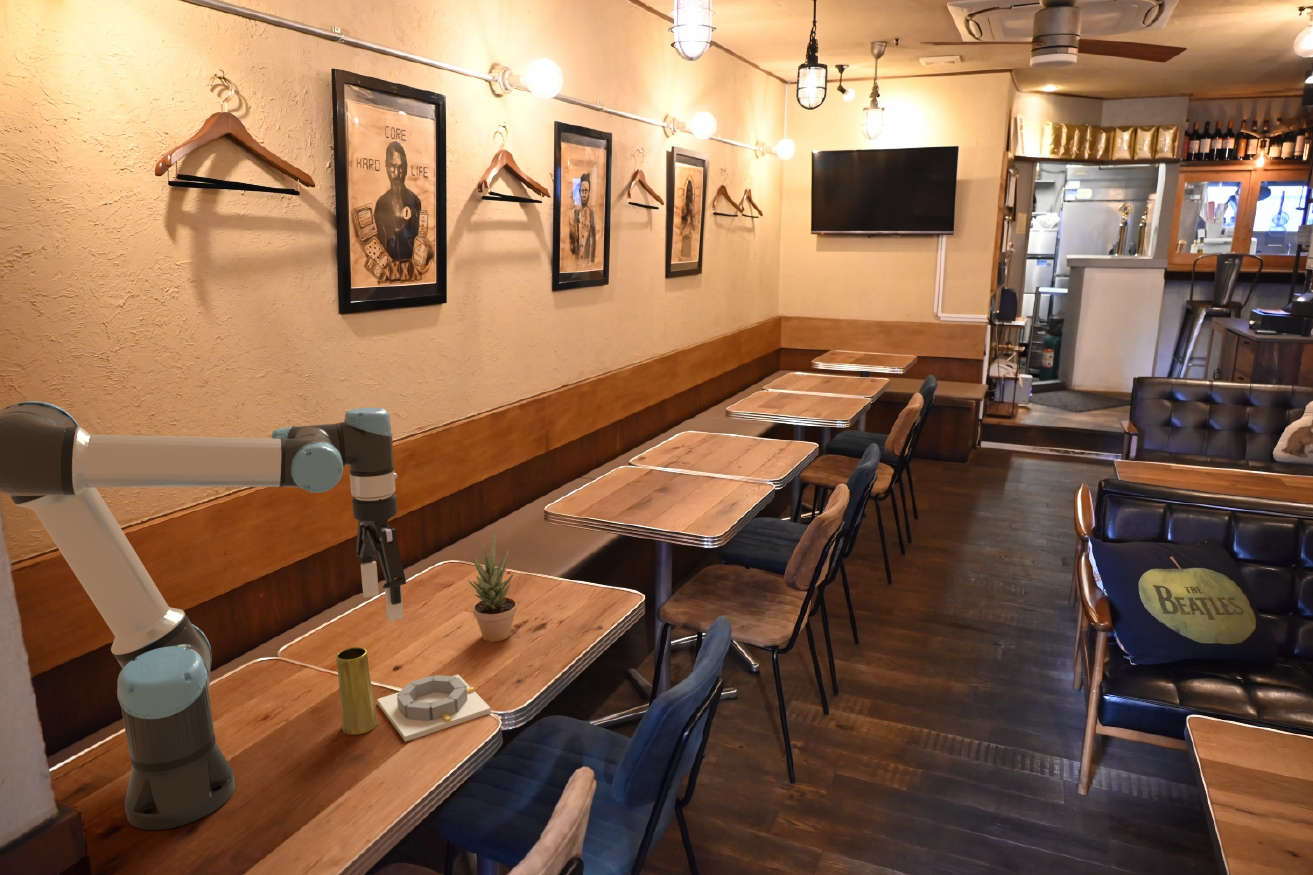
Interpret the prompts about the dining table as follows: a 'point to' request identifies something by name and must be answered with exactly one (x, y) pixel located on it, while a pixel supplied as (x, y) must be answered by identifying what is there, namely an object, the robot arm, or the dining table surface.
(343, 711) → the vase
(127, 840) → the dining table surface
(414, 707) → the socket
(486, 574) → the potted plant
